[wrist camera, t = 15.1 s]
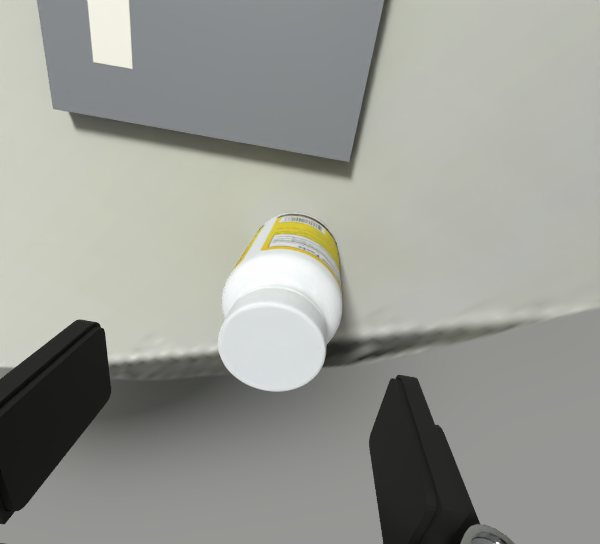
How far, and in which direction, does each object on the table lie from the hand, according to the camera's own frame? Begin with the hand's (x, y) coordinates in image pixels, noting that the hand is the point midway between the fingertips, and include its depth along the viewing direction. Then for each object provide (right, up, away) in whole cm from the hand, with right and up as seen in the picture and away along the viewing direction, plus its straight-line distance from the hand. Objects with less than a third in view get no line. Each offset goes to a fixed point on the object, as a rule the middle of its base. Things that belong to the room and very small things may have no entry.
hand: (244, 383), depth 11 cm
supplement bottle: (+2, +5, +10) cm, 11 cm away
